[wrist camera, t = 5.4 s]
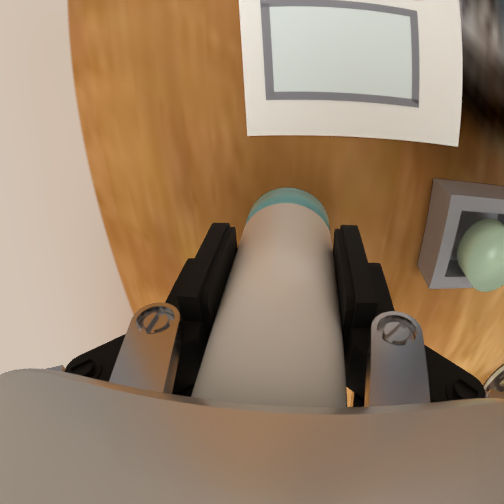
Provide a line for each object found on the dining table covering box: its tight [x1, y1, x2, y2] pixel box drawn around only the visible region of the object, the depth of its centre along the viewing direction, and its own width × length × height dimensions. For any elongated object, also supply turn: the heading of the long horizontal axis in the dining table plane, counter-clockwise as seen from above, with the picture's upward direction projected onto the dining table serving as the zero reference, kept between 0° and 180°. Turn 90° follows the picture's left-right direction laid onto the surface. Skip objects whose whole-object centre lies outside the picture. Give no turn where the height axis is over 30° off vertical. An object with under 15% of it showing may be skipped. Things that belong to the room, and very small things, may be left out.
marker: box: [191, 188, 347, 407], centre depth 9 cm, size 4×4×11 cm
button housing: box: [417, 179, 504, 289], centre depth 19 cm, size 7×7×3 cm
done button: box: [457, 218, 504, 292], centre depth 17 cm, size 4×4×2 cm
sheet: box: [239, 0, 462, 147], centre depth 15 cm, size 14×14×1 cm
